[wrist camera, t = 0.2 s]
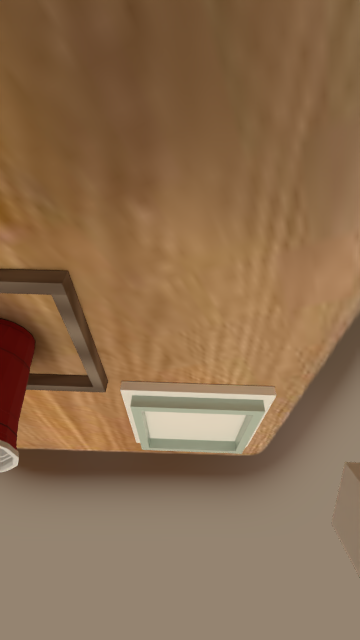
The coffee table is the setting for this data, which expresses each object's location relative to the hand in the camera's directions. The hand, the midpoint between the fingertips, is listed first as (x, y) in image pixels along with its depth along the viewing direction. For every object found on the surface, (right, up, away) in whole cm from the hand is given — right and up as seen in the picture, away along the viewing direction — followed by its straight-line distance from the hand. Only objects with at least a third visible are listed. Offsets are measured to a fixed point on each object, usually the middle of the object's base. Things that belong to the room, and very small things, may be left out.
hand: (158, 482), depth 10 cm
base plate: (+3, -8, +32) cm, 33 cm away
